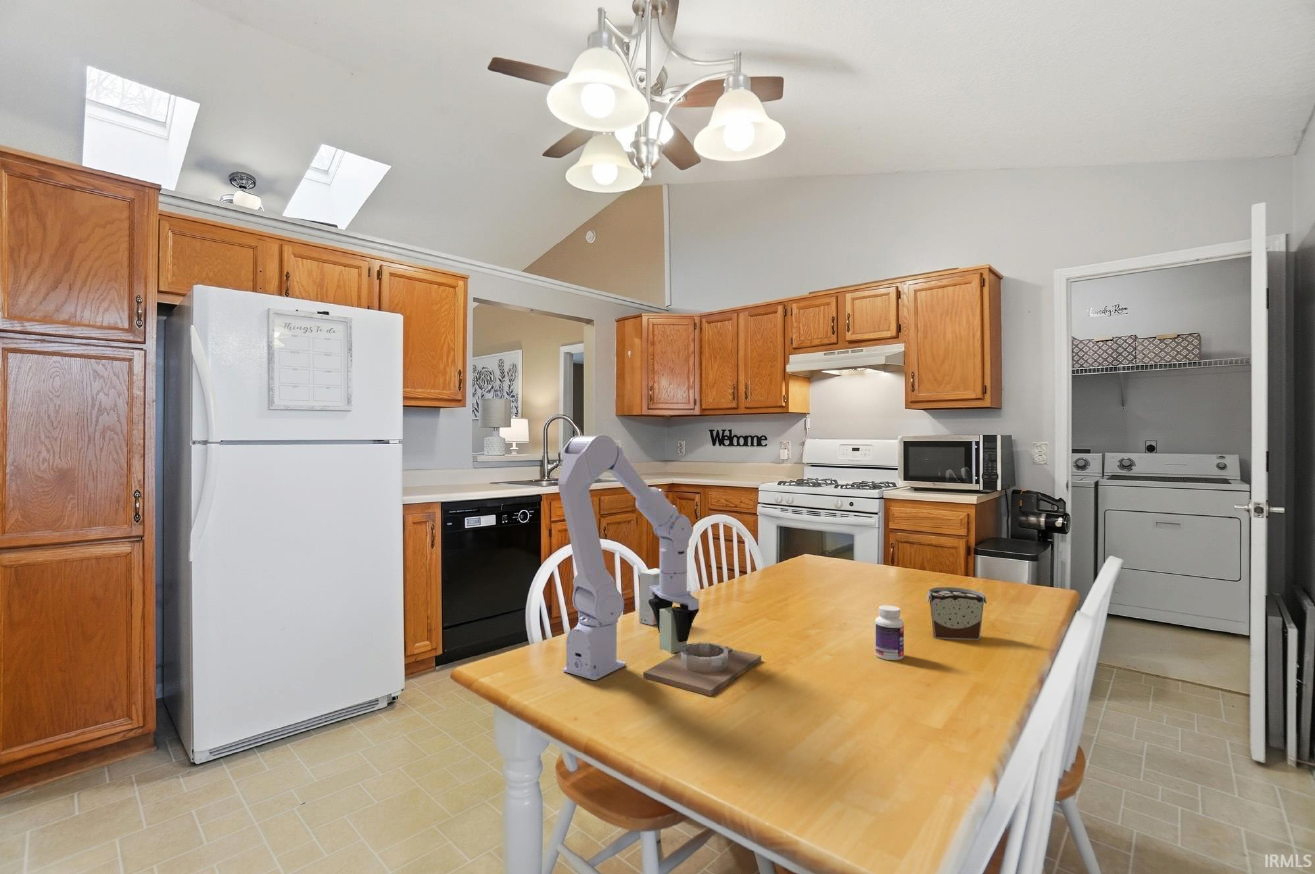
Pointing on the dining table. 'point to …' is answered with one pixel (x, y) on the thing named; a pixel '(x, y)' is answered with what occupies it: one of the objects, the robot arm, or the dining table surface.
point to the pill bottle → (889, 633)
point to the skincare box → (647, 595)
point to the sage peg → (669, 632)
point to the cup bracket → (702, 667)
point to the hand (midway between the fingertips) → (673, 636)
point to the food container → (956, 612)
